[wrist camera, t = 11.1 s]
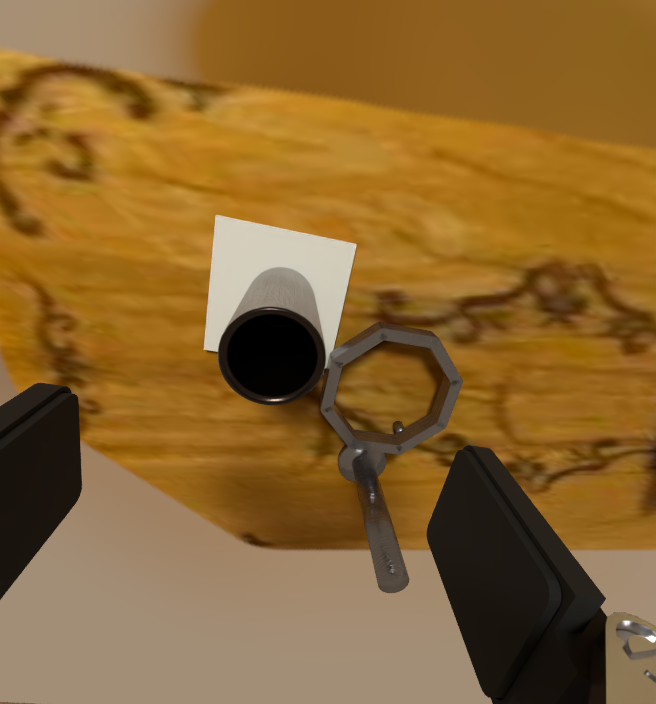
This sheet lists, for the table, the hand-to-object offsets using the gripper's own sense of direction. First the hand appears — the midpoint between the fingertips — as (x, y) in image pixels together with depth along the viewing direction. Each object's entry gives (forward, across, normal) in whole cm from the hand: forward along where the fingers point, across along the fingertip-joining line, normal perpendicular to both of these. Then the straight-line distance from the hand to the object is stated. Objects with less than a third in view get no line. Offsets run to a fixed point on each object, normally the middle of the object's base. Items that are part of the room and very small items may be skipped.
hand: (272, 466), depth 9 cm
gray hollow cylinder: (+17, +1, 0) cm, 17 cm away
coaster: (+18, +1, 0) cm, 18 cm away
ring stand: (+18, -8, +7) cm, 21 cm away
